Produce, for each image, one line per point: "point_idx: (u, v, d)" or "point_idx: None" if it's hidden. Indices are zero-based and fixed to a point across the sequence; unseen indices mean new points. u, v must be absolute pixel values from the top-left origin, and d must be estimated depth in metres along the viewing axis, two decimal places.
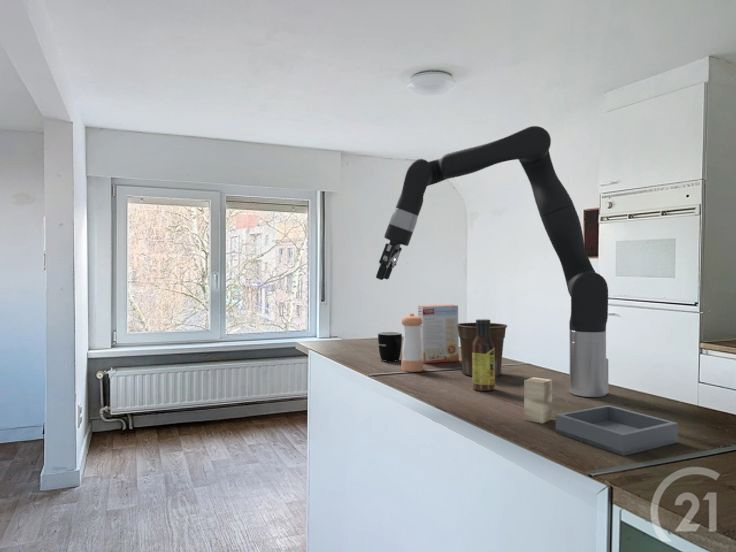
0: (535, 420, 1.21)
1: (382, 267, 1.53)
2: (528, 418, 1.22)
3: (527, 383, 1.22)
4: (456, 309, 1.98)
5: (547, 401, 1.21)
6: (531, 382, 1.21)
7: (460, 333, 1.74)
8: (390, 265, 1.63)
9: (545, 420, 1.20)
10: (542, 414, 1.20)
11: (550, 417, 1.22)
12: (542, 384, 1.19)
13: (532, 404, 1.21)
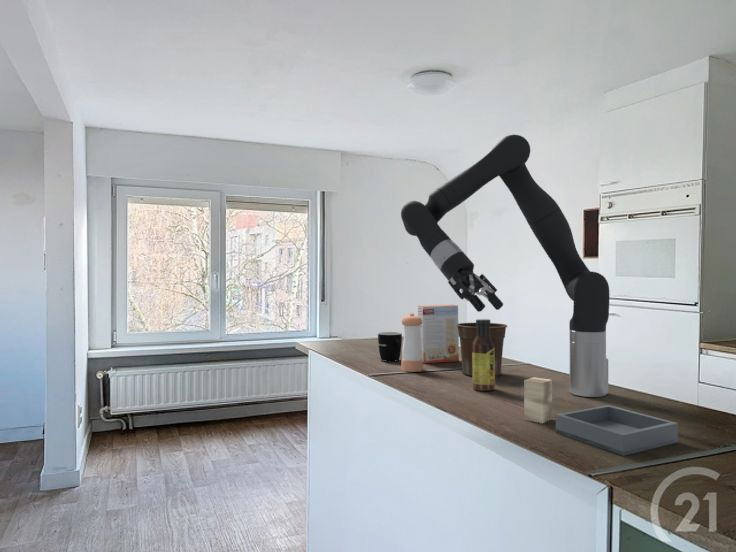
0: (535, 420, 1.21)
1: (470, 298, 1.28)
2: (528, 418, 1.22)
3: (527, 383, 1.22)
4: (456, 309, 1.98)
5: (547, 401, 1.21)
6: (531, 382, 1.21)
7: (460, 333, 1.74)
8: (489, 294, 1.35)
9: (545, 420, 1.20)
10: (542, 414, 1.20)
11: (550, 417, 1.22)
12: (542, 384, 1.19)
13: (532, 404, 1.21)
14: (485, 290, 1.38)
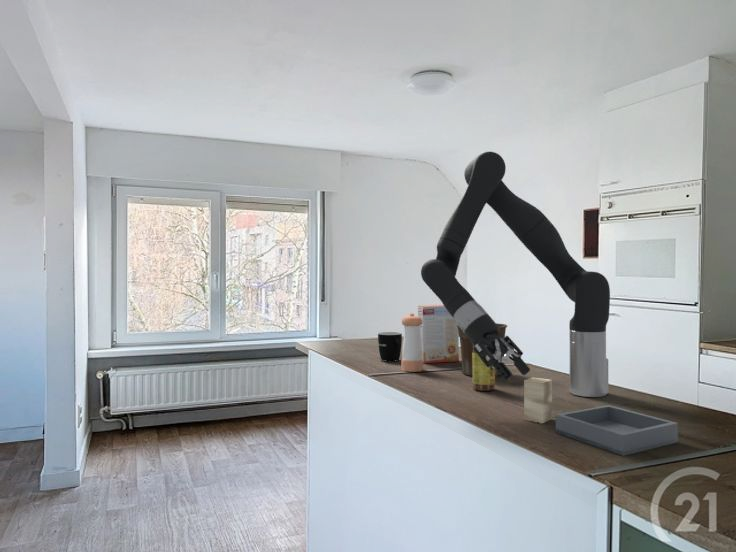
0: (535, 420, 1.21)
1: (497, 367, 1.24)
2: (528, 418, 1.22)
3: (527, 383, 1.22)
4: None
5: (547, 401, 1.21)
6: (531, 382, 1.21)
7: (460, 333, 1.74)
8: (515, 358, 1.31)
9: (545, 420, 1.20)
10: (542, 414, 1.20)
11: (550, 417, 1.22)
12: (542, 384, 1.19)
13: (532, 404, 1.21)
14: None
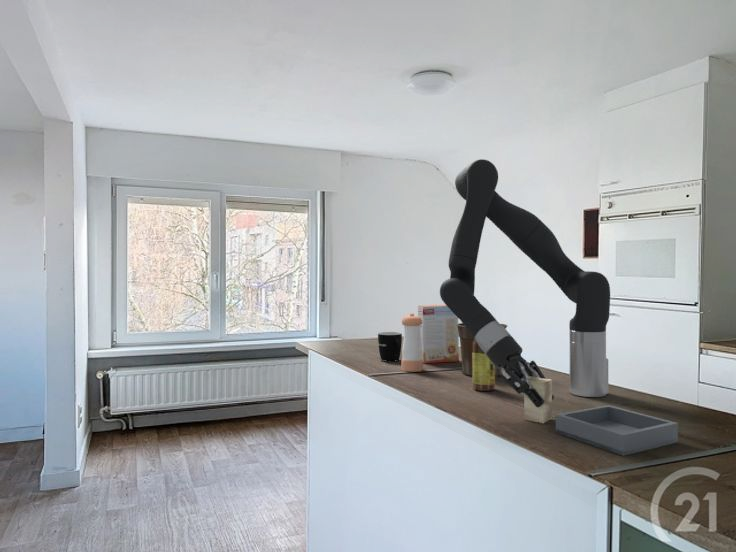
0: (535, 420, 1.21)
1: (528, 393, 1.20)
2: (528, 418, 1.22)
3: None
4: None
5: (547, 401, 1.21)
6: (531, 382, 1.21)
7: (460, 333, 1.74)
8: None
9: (545, 420, 1.20)
10: (542, 414, 1.20)
11: (550, 417, 1.22)
12: (542, 384, 1.19)
13: (532, 404, 1.21)
14: None
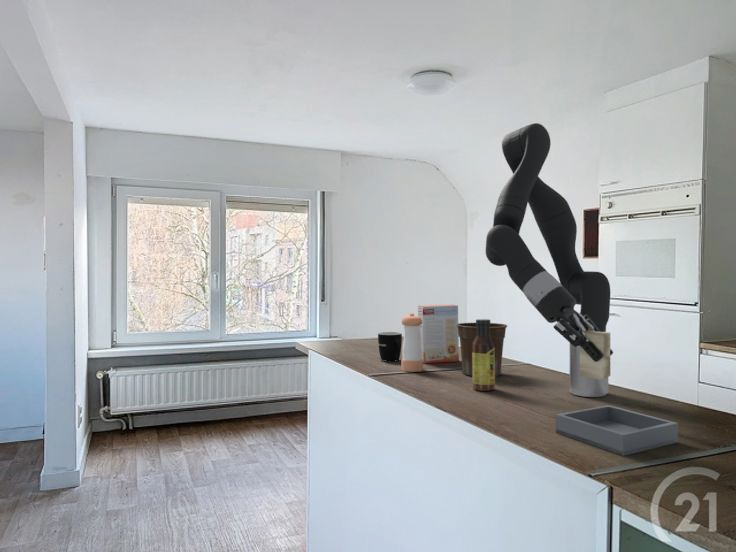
0: (592, 376, 1.10)
1: (585, 346, 1.10)
2: (584, 374, 1.11)
3: None
4: (456, 309, 1.98)
5: (606, 355, 1.10)
6: (588, 334, 1.10)
7: (460, 333, 1.74)
8: None
9: (604, 376, 1.10)
10: (601, 369, 1.09)
11: (608, 373, 1.11)
12: (601, 336, 1.09)
13: (589, 358, 1.10)
14: None
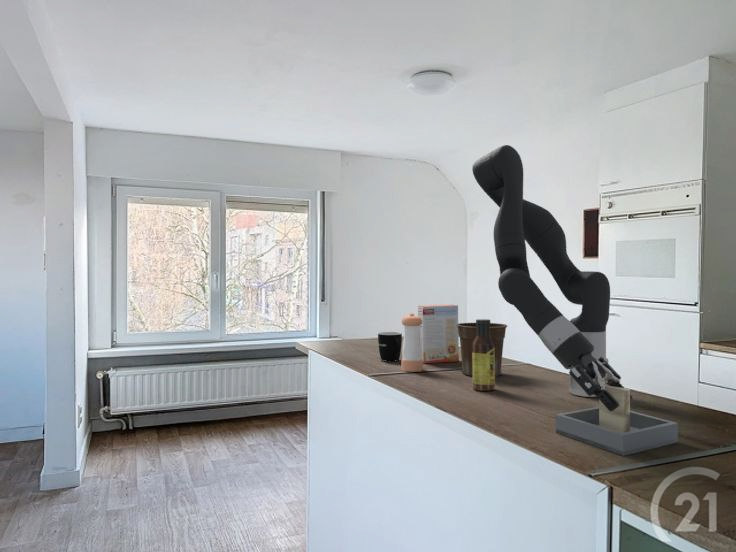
0: None
1: (600, 395, 1.06)
2: None
3: None
4: (456, 309, 1.98)
5: (626, 413, 1.08)
6: None
7: (460, 333, 1.74)
8: (614, 383, 1.13)
9: None
10: (621, 428, 1.06)
11: (628, 431, 1.09)
12: (621, 394, 1.06)
13: (608, 416, 1.08)
14: None
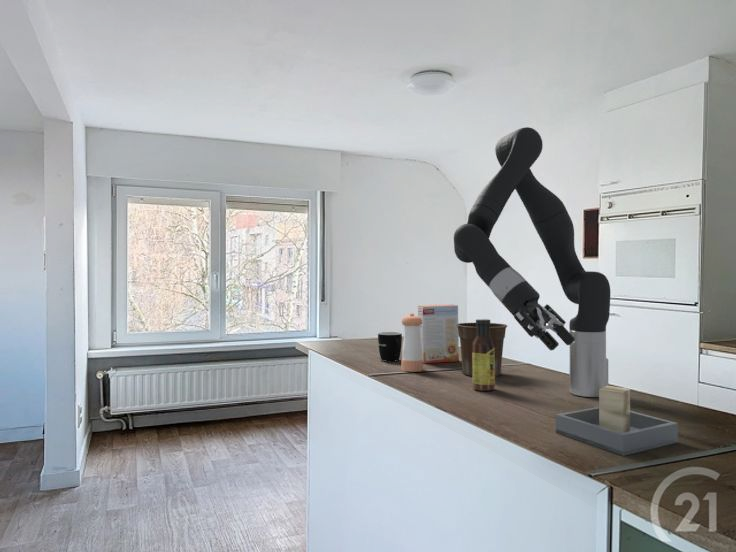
0: None
1: (541, 336, 1.14)
2: None
3: (603, 393, 1.08)
4: (456, 309, 1.98)
5: (626, 413, 1.08)
6: (608, 392, 1.08)
7: (460, 333, 1.74)
8: (558, 327, 1.21)
9: None
10: (621, 428, 1.06)
11: (628, 431, 1.09)
12: (621, 394, 1.06)
13: (608, 416, 1.08)
14: None
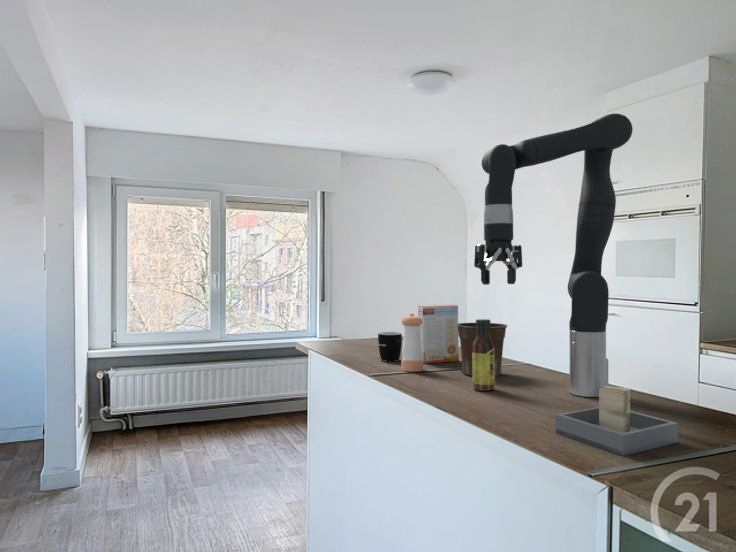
0: None
1: (482, 271, 1.40)
2: None
3: (603, 393, 1.08)
4: (456, 309, 1.98)
5: (626, 413, 1.08)
6: (608, 392, 1.08)
7: (460, 333, 1.74)
8: (511, 267, 1.44)
9: None
10: (621, 428, 1.06)
11: (628, 431, 1.09)
12: (621, 394, 1.06)
13: (608, 416, 1.08)
14: None
